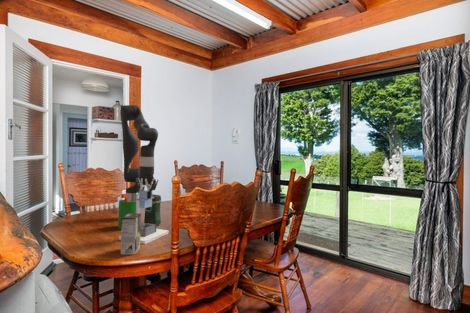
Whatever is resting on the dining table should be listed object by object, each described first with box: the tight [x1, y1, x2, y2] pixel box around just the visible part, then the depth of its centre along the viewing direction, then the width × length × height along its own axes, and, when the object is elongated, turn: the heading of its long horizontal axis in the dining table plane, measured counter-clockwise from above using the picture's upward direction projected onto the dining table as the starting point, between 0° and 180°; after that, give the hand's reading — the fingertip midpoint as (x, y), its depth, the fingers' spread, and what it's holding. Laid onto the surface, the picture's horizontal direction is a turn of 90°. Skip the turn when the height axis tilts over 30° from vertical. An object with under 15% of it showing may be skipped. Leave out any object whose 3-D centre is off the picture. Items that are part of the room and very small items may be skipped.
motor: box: [117, 193, 136, 230], centre depth 159 cm, size 10×9×20 cm
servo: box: [137, 189, 154, 209], centre depth 144 cm, size 10×4×8 cm, turn 160°
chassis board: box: [118, 222, 169, 245], centre depth 144 cm, size 20×16×6 cm
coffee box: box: [120, 213, 142, 255], centre depth 123 cm, size 9×6×16 cm
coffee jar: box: [143, 193, 162, 227], centre depth 168 cm, size 10×8×19 cm
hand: (145, 197), depth 144 cm, fingers closed on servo, 3 cm apart
